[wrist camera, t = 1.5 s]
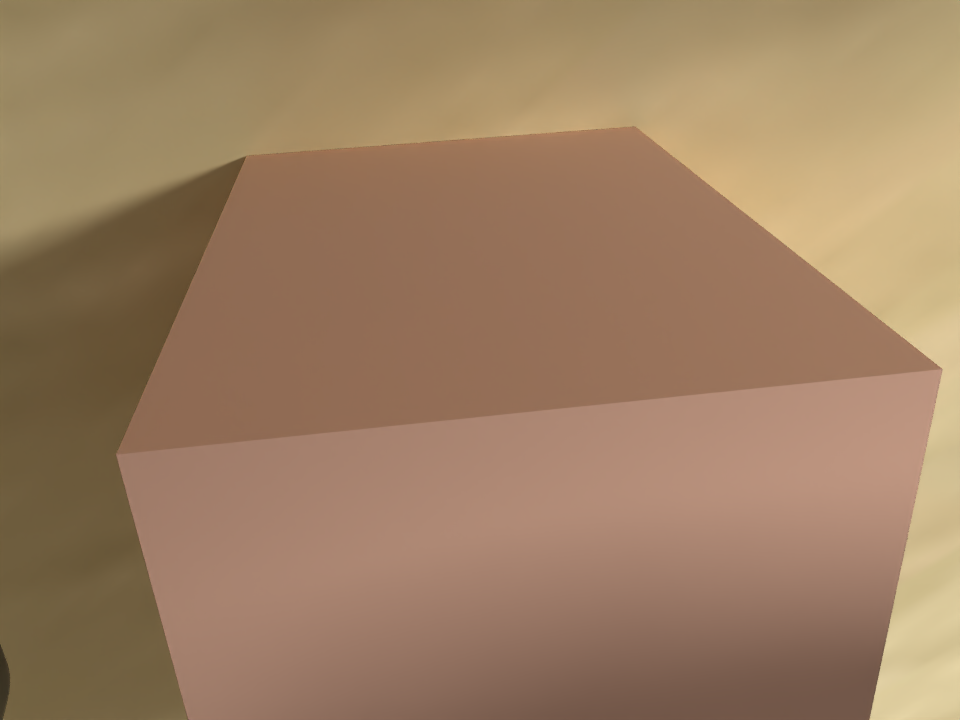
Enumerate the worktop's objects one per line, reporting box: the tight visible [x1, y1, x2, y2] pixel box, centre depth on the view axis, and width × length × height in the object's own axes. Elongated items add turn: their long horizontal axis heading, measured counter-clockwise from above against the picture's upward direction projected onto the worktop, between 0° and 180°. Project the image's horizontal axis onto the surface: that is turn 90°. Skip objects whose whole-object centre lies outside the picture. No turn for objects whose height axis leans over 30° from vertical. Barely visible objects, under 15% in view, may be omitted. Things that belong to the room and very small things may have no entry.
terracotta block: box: [116, 127, 942, 720], centre depth 10 cm, size 5×5×7 cm
